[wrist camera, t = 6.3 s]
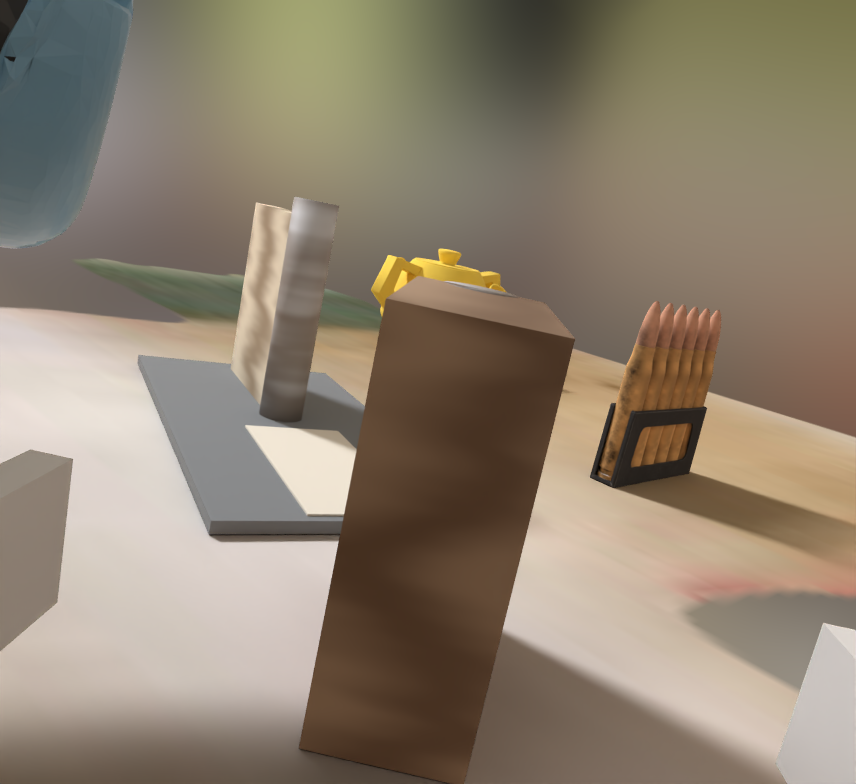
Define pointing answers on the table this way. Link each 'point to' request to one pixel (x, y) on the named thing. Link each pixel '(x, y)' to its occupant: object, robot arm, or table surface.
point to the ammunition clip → (660, 399)
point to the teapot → (429, 274)
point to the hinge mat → (256, 449)
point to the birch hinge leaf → (283, 304)
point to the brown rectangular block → (434, 525)
